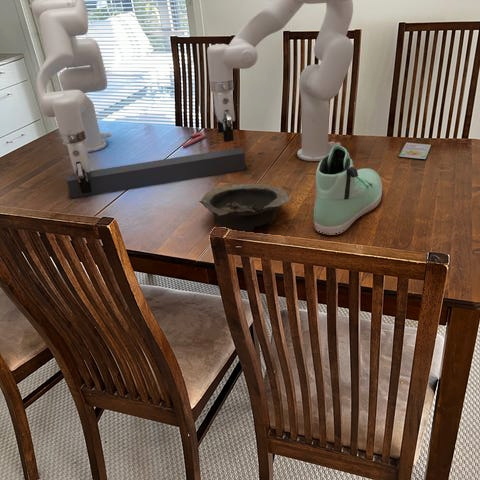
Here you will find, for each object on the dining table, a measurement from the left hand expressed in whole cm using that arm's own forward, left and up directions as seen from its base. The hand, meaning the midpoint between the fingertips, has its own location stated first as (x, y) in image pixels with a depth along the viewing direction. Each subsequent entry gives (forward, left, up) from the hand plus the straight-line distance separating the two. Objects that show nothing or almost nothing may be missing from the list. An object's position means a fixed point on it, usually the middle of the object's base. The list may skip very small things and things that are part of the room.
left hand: (86, 188), depth 161 cm
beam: (-20, +14, -2) cm, 25 cm away
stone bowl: (-14, +57, -2) cm, 59 cm away
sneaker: (-36, +78, -2) cm, 86 cm away
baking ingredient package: (-86, +77, -2) cm, 116 cm away
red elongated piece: (-53, -3, -2) cm, 53 cm away
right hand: (-39, +29, +10) cm, 50 cm away
